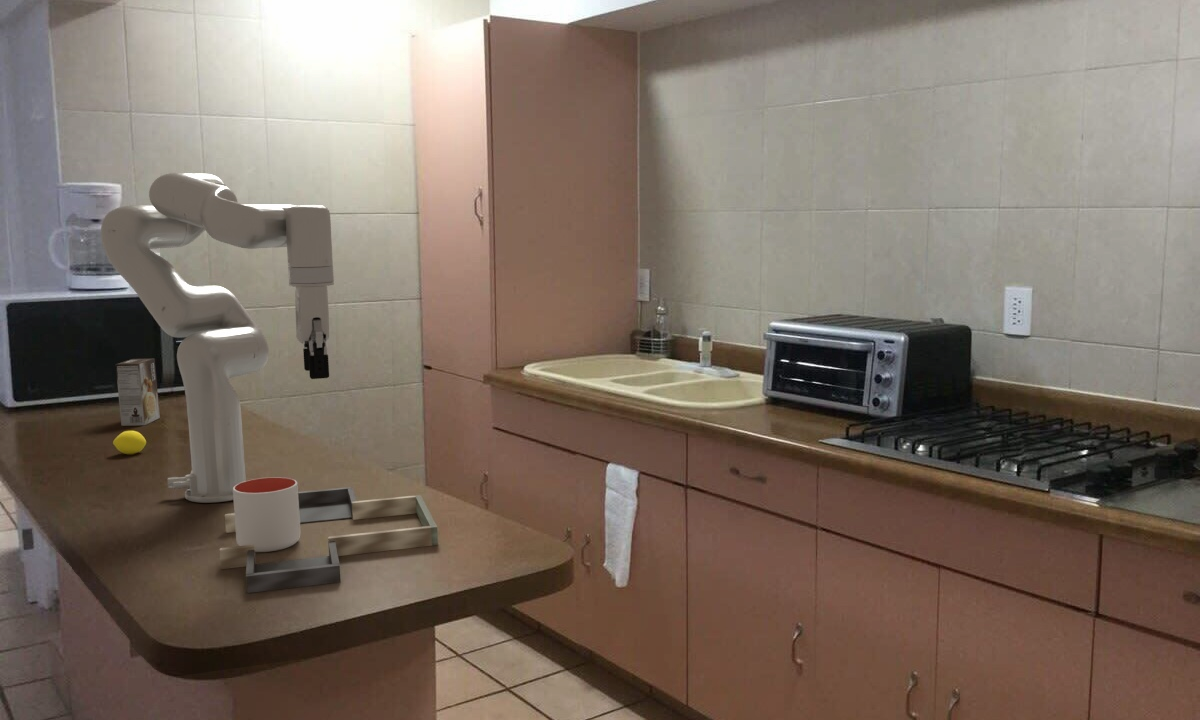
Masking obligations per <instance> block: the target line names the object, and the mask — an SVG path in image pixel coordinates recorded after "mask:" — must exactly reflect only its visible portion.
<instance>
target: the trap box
mask: <svg viewBox="0 0 1200 720" xmlns="http://www.w3.org/2000/svg"><path fill="white" fill-rule="evenodd" d="M298 499H299V515H300V525H301V524H308V523H310V524H311V523H318V522H319V523H321V522H330V521H338V520H339V521H340V520H348V519H349V520H351V519H352V520H353V521H355V520H365V519H374V518H383V517H385V518H386V517H393V516H403V515H412V514H415V515H417V517H418V520H419V522H420V523H421V526H414V527H408V528H405V527H404V528H398V529H397V528H396V529H387V530H380V531H379V530H378V531H377V530H376V531H368V532H361V533H350V534H343V535H340V534H339V535H331V536H330V535H329V536H327V541H328V543H327V544H328V555H327V556H326V555H324V556H316V557H315V556H314V557H308V558H307V557H306V558H298V559H290V560H282V561H281V560H280V561H272V562H271V561H270V562H263V563H257V562H256V552H255V547H254V545H245V546H239V545H237V546H236V545H235V546H227V547H220V548H219V561H220V562H219V563H220V570H226V569H235V568H243V567H246V569H245V584H246V594H250V593H260V592H268V591H276V590H284V589H293V588H301V587H311V586H318V585H326V584H335V583H336V584H337V583H341V565H340V561H339V560H340V559H339V557H341V556H352V555H360V554H367V553H368V554H369V553H376V552H377V553H378V552H384V551H385V552H387V551H396V550H405V549H414V548H422V547H431V546H438V545H439V539H438V537H439V534H438V525H437V524H436V522H435V520H434V518H433V516H432V514H431V512H430V510H429V508H428V506H427V504H426V503H425V500H424V499H423V497H422V495H421V494H417V495H406V496H398V497H397V496H396V497H386V498H385V497H384V498H376V499H366V500H358V499H357V496H356V493H355V489H354V487H353V486H348V487H338V488H337V487H336V488H325V489H316V490H305V491H304V490H303V491H298ZM224 522H225V524H224V525H225V533H226V534H227V533H236V528H235V515H234V512H231V513H225V514H224Z"/></svg>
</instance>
